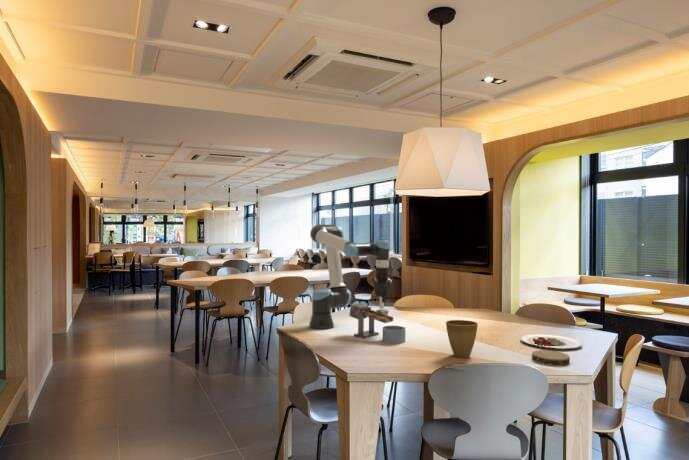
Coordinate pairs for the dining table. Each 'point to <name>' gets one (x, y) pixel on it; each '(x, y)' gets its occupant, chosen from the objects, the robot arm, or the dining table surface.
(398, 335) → the cup
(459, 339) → the plant pot
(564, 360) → the brown round disc
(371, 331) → the lever stand
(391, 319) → the lever
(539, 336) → the plated food
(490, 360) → the dining table surface
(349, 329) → the dining table surface
